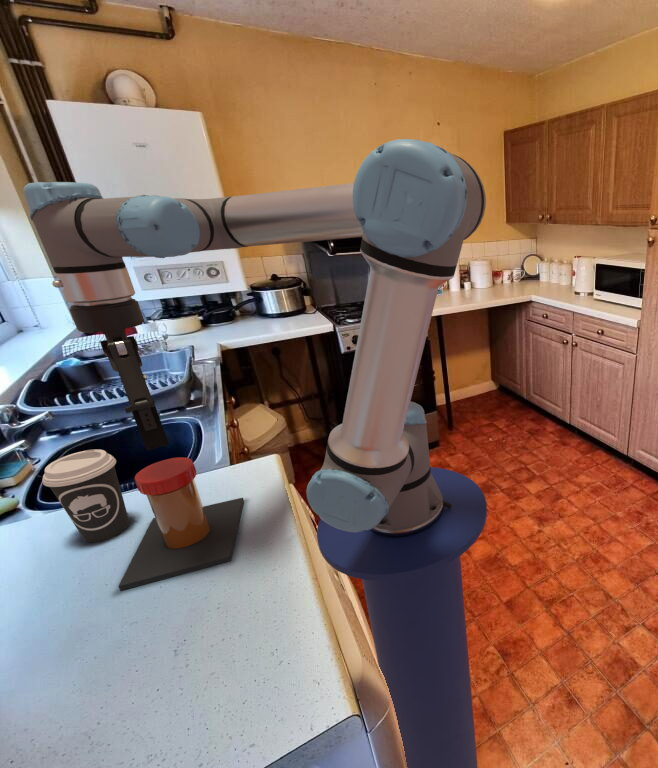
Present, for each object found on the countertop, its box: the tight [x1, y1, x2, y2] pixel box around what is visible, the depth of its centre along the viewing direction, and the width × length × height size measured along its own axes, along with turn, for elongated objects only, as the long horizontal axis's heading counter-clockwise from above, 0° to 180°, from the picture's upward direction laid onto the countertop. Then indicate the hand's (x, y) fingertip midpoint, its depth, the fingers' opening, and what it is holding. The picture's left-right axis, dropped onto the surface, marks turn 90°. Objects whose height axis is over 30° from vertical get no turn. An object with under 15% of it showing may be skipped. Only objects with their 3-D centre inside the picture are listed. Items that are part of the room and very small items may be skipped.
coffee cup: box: [42, 449, 131, 543], centre depth 79 cm, size 10×10×15 cm
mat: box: [118, 497, 245, 592], centre depth 78 cm, size 15×18×1 cm
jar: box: [146, 478, 210, 549], centre depth 76 cm, size 7×7×13 cm
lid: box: [134, 456, 198, 496], centre depth 73 cm, size 8×8×2 cm
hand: (152, 432), depth 70 cm, fingers open, 13 cm apart
